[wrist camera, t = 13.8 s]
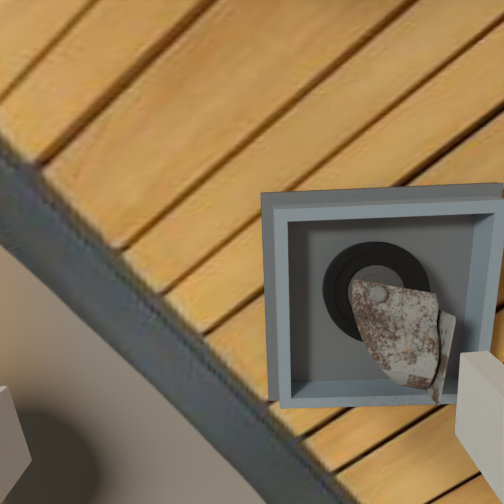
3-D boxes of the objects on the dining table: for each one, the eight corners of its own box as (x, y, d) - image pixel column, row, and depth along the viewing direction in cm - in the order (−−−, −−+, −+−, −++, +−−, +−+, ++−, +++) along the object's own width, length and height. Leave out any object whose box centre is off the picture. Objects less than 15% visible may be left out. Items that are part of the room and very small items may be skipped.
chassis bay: (260, 192, 32) (260, 197, 28) (496, 182, 31) (525, 185, 28) (268, 394, 37) (269, 418, 33) (471, 388, 36) (493, 412, 33)
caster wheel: (329, 234, 34) (441, 253, 33) (308, 353, 35) (418, 376, 33) (336, 232, 27) (477, 255, 26) (309, 379, 28) (447, 409, 27)
